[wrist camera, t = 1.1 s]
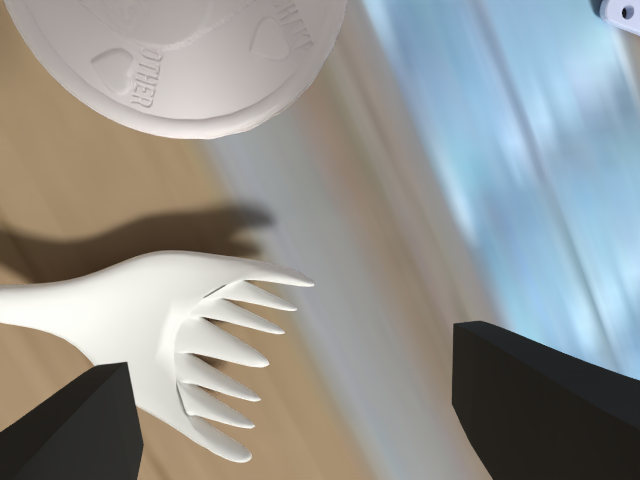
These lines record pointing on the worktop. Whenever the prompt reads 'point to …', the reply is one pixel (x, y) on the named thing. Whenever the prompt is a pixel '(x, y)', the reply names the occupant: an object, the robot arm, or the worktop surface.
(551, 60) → the worktop surface
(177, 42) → the smoothie
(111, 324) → the white plastic utensil
